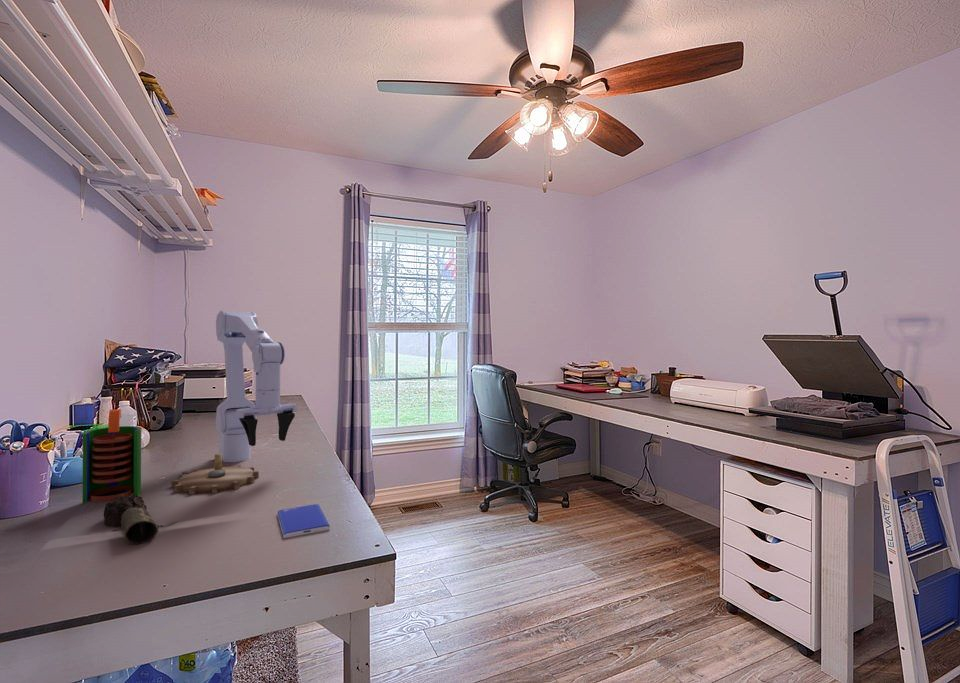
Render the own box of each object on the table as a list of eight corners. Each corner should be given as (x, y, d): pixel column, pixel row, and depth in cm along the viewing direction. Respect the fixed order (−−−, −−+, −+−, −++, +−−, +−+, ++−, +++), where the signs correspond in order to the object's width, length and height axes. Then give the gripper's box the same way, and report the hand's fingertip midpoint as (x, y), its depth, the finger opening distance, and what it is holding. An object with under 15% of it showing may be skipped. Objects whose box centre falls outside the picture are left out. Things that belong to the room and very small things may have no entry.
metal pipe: (158, 541, 82) (158, 510, 82) (110, 553, 78) (110, 520, 78) (142, 513, 95) (142, 486, 95) (101, 522, 91) (100, 493, 90)
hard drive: (277, 510, 94) (283, 532, 84) (318, 503, 98) (329, 524, 88) (277, 517, 94) (283, 541, 84) (318, 510, 98) (329, 532, 88)
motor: (82, 511, 96) (82, 415, 95) (82, 499, 102) (82, 410, 102) (142, 500, 102) (143, 411, 102) (138, 490, 109) (139, 406, 109)
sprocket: (259, 487, 108) (259, 464, 108) (165, 499, 100) (165, 474, 100) (257, 467, 124) (257, 447, 124) (177, 476, 116) (177, 454, 116)
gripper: (245, 393, 109) (244, 450, 109) (302, 388, 120) (302, 440, 120) (233, 390, 113) (232, 445, 113) (289, 386, 124) (288, 436, 125)
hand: (267, 442), depth 117 cm, fingers open, 7 cm apart
